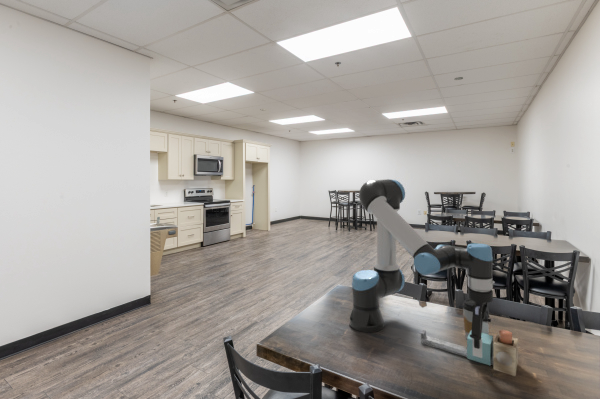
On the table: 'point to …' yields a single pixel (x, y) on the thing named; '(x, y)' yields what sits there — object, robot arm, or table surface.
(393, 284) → the robot arm
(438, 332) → the table surface
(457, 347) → the rail
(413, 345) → the table surface
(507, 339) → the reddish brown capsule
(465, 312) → the coffee cup
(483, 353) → the block
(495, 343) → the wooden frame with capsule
